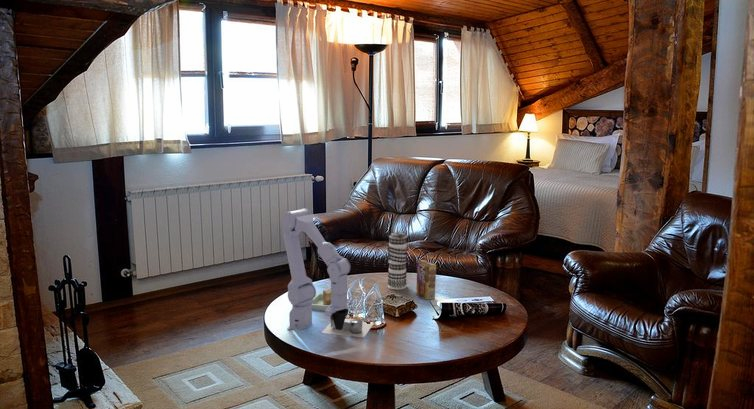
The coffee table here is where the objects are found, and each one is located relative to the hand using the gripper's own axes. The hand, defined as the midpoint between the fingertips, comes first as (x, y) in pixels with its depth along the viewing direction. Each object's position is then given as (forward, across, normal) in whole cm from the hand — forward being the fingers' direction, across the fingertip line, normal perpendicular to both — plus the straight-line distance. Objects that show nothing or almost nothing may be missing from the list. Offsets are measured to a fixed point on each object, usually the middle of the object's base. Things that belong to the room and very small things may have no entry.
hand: (339, 329), depth 215 cm
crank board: (+3, +8, +1) cm, 8 cm away
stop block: (+2, +24, +21) cm, 32 cm away
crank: (+2, +5, 0) cm, 5 cm away
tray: (+3, +24, +21) cm, 32 cm away
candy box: (+3, +57, -8) cm, 57 cm away
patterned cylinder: (+3, +62, +9) cm, 63 cm away
